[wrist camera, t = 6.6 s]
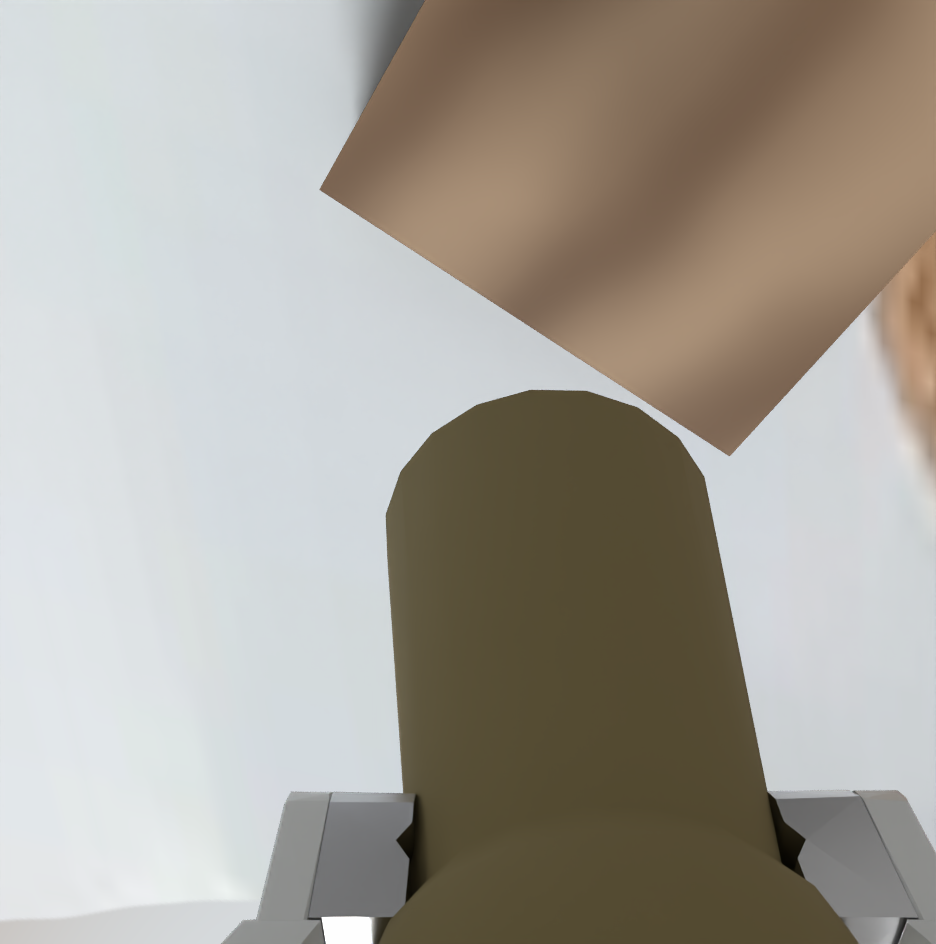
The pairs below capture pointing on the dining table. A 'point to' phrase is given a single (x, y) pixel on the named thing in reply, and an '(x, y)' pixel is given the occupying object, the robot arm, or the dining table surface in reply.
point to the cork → (576, 693)
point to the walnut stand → (661, 178)
